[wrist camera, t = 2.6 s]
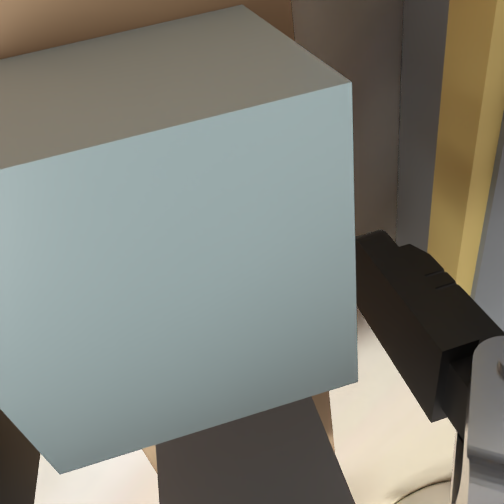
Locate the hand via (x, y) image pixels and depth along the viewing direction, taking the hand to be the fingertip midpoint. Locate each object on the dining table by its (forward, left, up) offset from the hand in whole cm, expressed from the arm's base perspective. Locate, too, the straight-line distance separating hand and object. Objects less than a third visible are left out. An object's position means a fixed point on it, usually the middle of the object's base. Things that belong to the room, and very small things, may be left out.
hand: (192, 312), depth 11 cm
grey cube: (0, +5, 0) cm, 5 cm away
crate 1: (0, -4, 0) cm, 4 cm away
